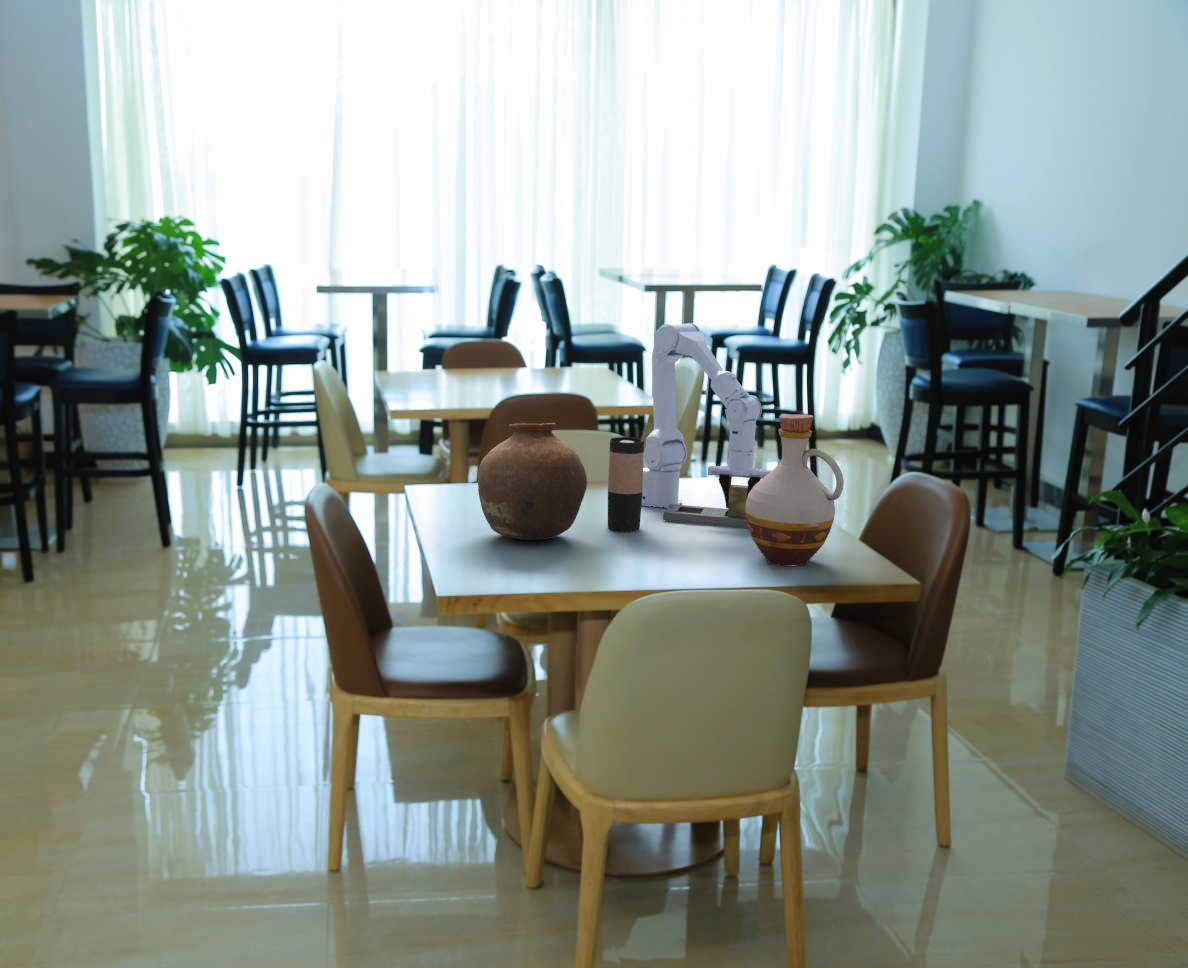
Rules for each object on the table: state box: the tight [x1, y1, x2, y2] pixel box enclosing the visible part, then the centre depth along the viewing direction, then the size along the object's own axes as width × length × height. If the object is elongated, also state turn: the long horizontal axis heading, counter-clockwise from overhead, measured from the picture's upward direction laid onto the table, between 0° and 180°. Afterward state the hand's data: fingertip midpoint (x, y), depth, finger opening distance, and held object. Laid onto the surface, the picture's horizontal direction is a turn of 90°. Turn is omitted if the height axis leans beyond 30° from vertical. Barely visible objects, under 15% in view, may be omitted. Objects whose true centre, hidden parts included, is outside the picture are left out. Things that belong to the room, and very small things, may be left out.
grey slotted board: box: [662, 504, 749, 529], centre depth 274 cm, size 22×9×2 cm, turn 76°
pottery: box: [477, 422, 588, 541], centre depth 251 cm, size 23×23×25 cm
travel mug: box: [607, 436, 645, 533], centre depth 262 cm, size 8×8×20 cm
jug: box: [746, 414, 845, 566], centre depth 238 cm, size 20×18×30 cm
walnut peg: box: [727, 484, 748, 518], centre depth 272 cm, size 4×4×7 cm
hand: (737, 508), depth 272 cm, fingers closed on walnut peg, 4 cm apart
